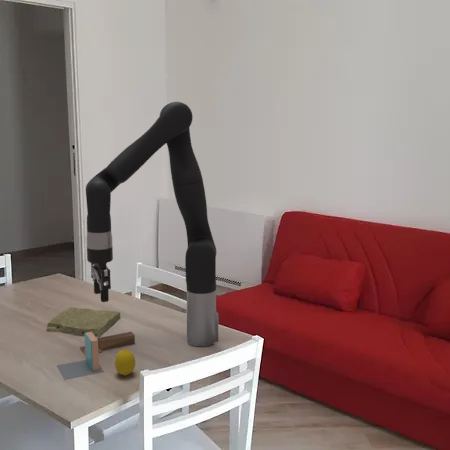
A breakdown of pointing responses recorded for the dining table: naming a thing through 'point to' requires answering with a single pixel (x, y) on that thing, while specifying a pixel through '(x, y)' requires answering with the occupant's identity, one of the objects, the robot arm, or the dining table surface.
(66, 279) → the dining table surface
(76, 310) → the olive green stone slab
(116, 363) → the lemon
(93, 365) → the pink scouring sponge
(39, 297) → the dining table surface
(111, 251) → the robot arm
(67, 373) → the slate mat
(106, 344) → the brown long stepped block
